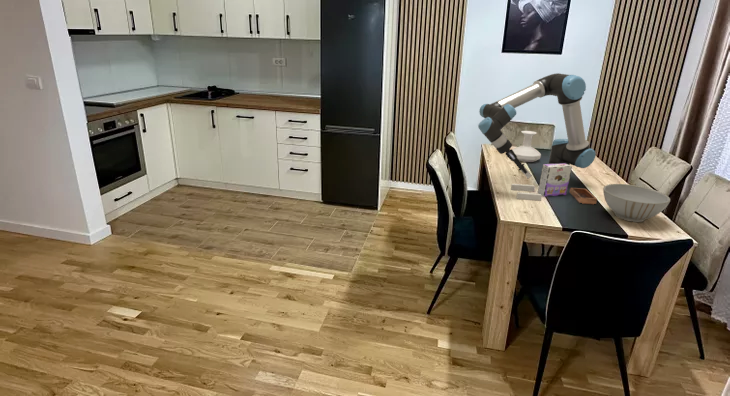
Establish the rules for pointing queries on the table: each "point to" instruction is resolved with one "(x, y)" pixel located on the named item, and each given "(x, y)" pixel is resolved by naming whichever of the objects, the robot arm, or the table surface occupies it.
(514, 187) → the walled channel
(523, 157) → the candle holder
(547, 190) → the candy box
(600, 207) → the table surface
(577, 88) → the robot arm
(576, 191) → the tray
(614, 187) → the decorative bowl
